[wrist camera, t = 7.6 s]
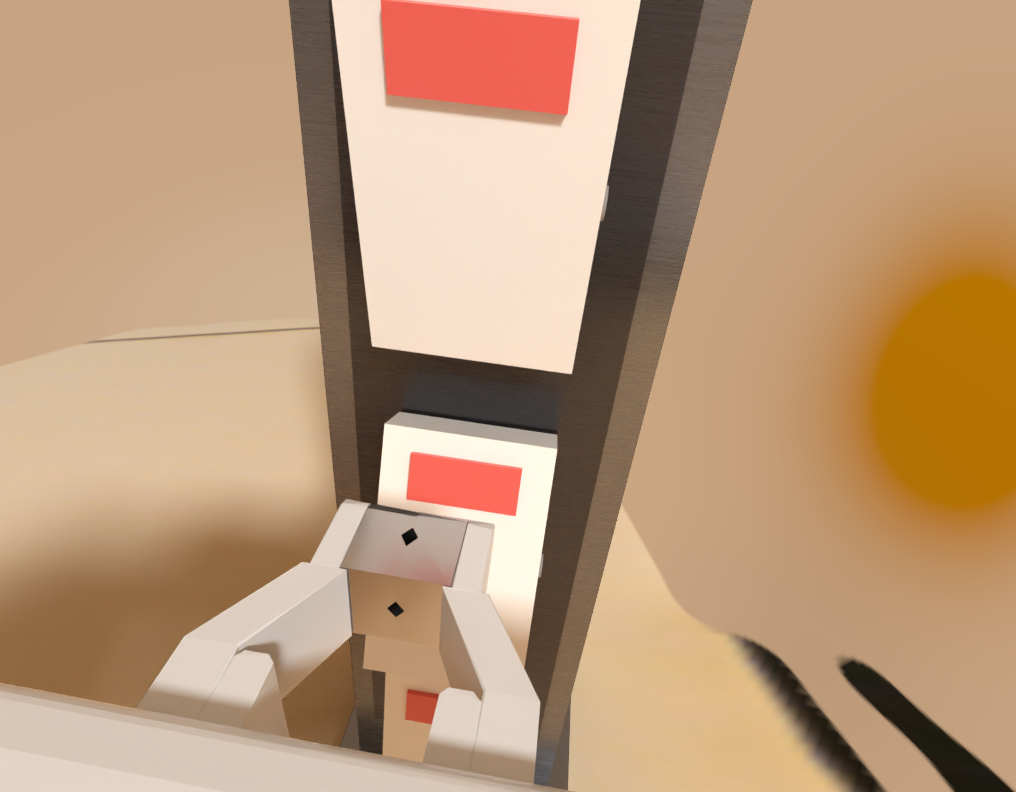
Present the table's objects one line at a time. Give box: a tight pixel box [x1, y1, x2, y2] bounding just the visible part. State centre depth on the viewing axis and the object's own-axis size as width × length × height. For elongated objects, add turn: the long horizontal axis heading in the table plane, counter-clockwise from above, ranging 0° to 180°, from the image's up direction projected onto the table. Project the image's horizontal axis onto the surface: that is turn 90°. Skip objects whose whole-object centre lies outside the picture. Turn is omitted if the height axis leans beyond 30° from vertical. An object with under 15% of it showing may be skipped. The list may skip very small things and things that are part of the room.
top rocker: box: [332, 0, 641, 374], centre depth 12 cm, size 2×5×8 cm, turn 83°
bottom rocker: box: [382, 672, 451, 763], centre depth 24 cm, size 2×5×8 cm, turn 83°
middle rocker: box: [363, 412, 557, 683], centre depth 18 cm, size 2×5×8 cm, turn 83°
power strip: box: [289, 0, 753, 790], centre depth 22 cm, size 10×12×40 cm
